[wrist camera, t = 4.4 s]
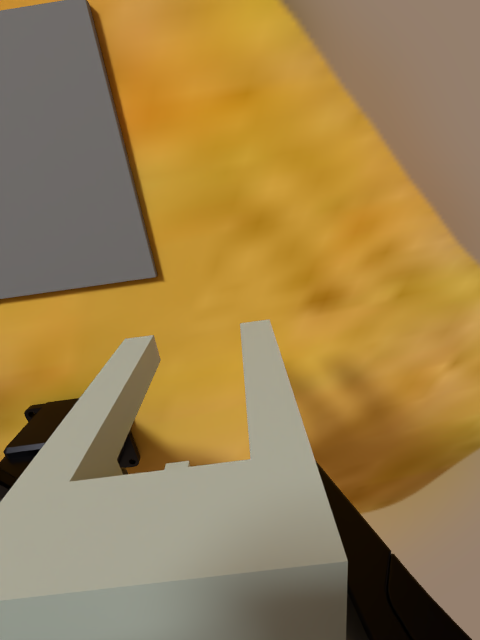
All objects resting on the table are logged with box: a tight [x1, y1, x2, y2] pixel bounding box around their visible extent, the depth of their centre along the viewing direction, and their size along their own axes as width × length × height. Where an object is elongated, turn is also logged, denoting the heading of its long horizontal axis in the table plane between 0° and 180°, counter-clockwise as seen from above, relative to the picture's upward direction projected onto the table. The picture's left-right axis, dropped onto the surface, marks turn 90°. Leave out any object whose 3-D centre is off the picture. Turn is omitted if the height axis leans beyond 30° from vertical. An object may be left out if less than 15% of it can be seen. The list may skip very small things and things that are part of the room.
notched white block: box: [0, 320, 348, 640], centre depth 8 cm, size 7×5×7 cm
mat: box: [0, 0, 157, 299], centre depth 14 cm, size 12×12×1 cm
